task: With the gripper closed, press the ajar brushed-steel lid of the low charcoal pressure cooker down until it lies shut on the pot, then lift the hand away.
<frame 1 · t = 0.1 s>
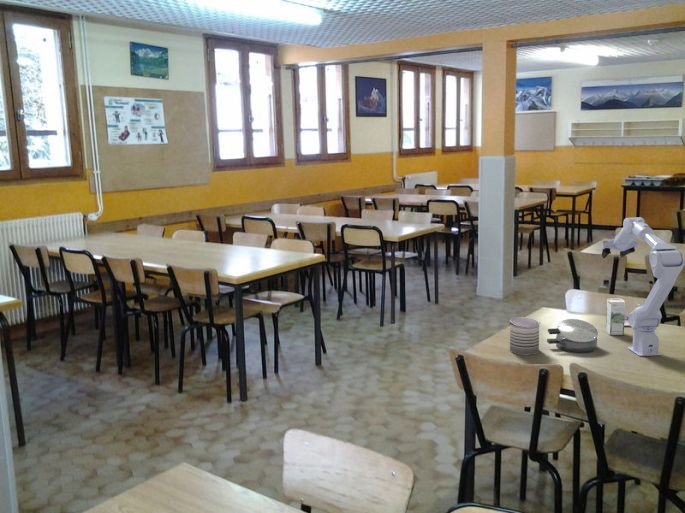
hand: (612, 255, 268), 32 cm above the table, tool tilted 50°, fingers open, 7 cm apart
cooker lid: (572, 330, 253), point 7 cm above the table, hinge at 18.0°
can: (524, 350, 253), on the table
smartphone: (625, 323, 285), on the table
cooker pot: (576, 346, 255), on the table
syrup box: (614, 334, 270), on the table
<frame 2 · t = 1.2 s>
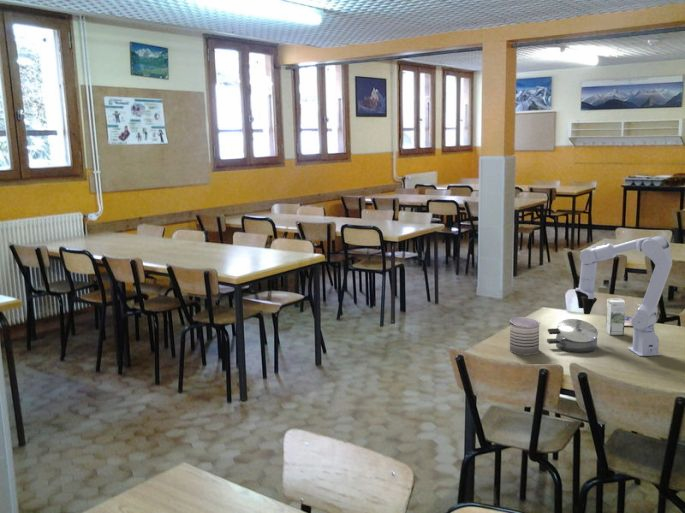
hand: (584, 311, 262), 12 cm above the table, tool pointing down, fingers open, 7 cm apart
nothing on the table moved.
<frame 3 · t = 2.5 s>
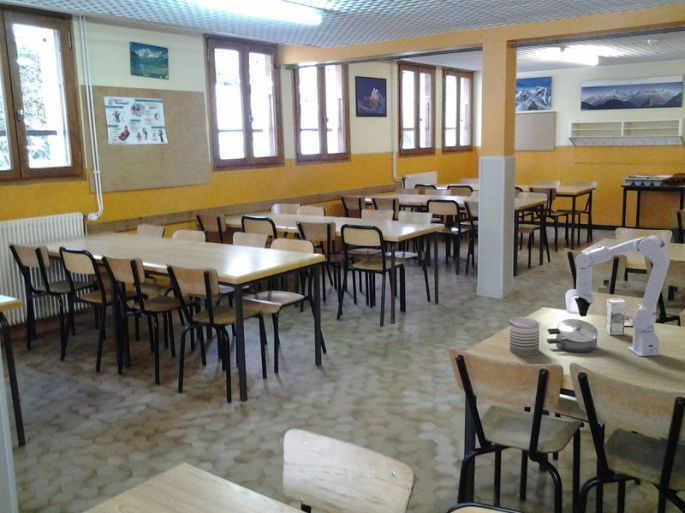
hand: (582, 316, 260), 10 cm above the table, tool pointing down, fingers closed
nothing on the table moved.
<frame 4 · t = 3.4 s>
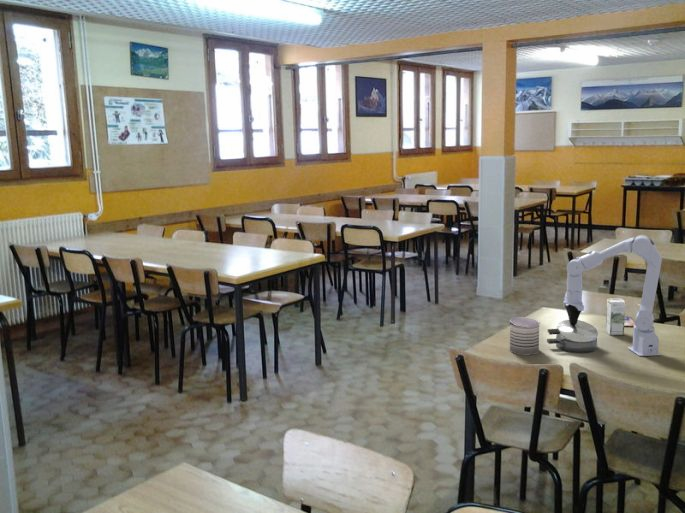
hand: (573, 323, 257), 8 cm above the table, tool pointing down, fingers closed
cooker lid: (572, 330, 253), point 7 cm above the table, hinge at 16.7°, touching gripper
everything else where it was.
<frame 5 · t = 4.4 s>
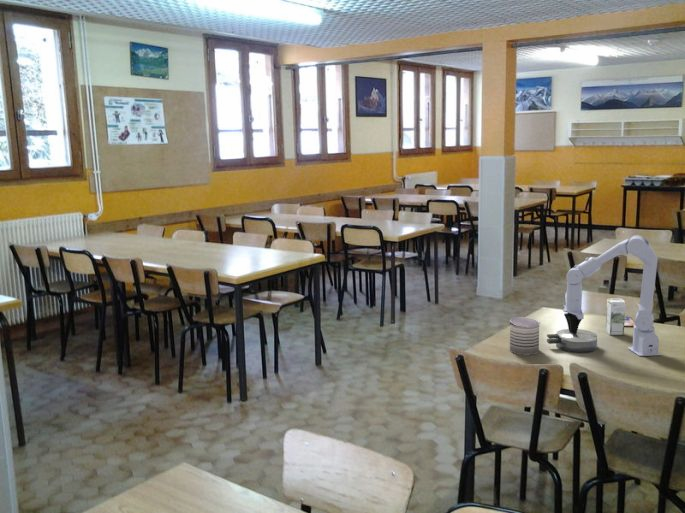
hand: (572, 332, 257), 5 cm above the table, tool pointing down, fingers closed on cooker lid
cooker lid: (571, 335, 254), point 5 cm above the table, hinge at 0.9°, touching gripper
everything else where it was.
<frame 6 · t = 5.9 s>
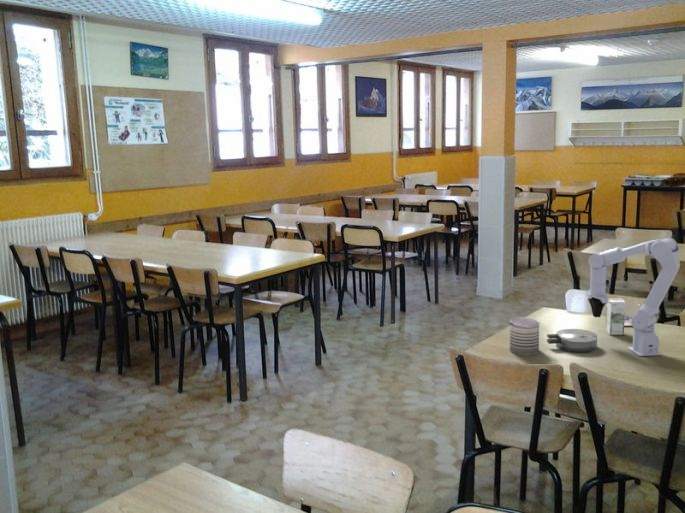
hand: (596, 316, 258), 10 cm above the table, tool pointing down, fingers closed
cooker lid: (571, 335, 254), point 5 cm above the table, hinge at 0.9°
everything else where it was.
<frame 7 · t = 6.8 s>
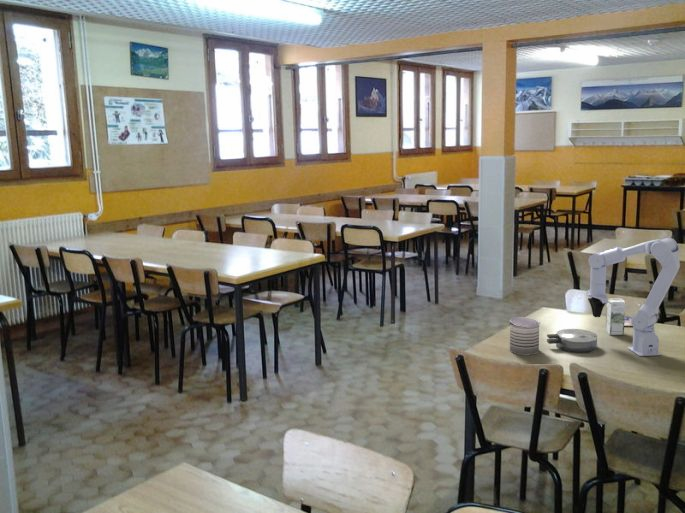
hand: (596, 316, 258), 10 cm above the table, tool pointing down, fingers closed
nothing on the table moved.
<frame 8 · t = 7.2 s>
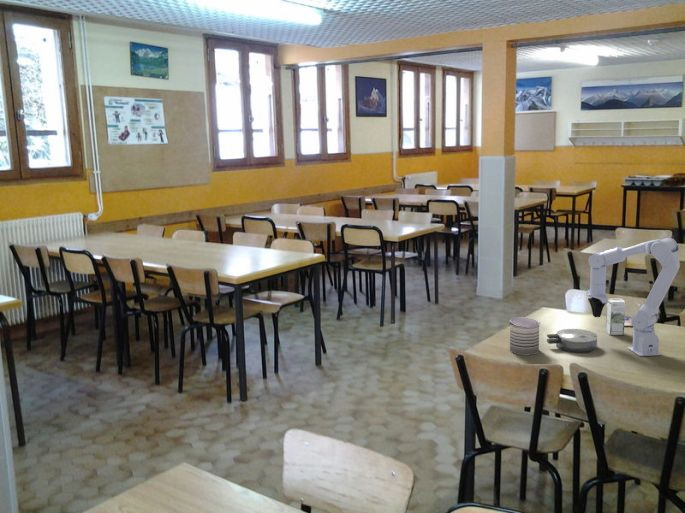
hand: (596, 316, 258), 10 cm above the table, tool pointing down, fingers closed
nothing on the table moved.
at the end: cooker lid at +1° (first picture: +18°); the gripper is holding nothing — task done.
